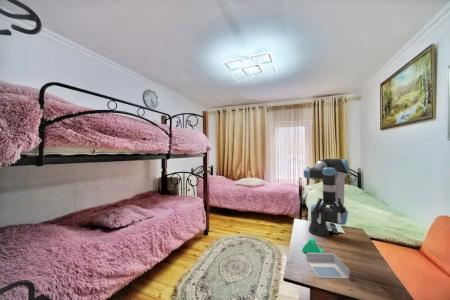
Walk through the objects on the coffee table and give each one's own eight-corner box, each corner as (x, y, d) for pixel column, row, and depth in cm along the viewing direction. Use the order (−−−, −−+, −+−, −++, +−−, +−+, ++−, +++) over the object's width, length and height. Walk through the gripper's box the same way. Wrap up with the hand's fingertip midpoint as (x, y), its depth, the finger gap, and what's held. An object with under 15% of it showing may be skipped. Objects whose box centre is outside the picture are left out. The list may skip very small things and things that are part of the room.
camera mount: (323, 253, 133) (323, 238, 133) (321, 258, 127) (321, 242, 127) (304, 248, 140) (304, 234, 140) (302, 252, 134) (302, 237, 134)
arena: (306, 260, 124) (306, 252, 124) (333, 261, 123) (333, 253, 123) (318, 277, 107) (318, 268, 107) (349, 278, 106) (349, 269, 106)
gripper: (313, 192, 124) (313, 225, 124) (351, 191, 125) (351, 224, 125) (308, 189, 132) (308, 220, 132) (344, 189, 132) (344, 220, 132)
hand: (329, 222), depth 128 cm, fingers open, 13 cm apart
